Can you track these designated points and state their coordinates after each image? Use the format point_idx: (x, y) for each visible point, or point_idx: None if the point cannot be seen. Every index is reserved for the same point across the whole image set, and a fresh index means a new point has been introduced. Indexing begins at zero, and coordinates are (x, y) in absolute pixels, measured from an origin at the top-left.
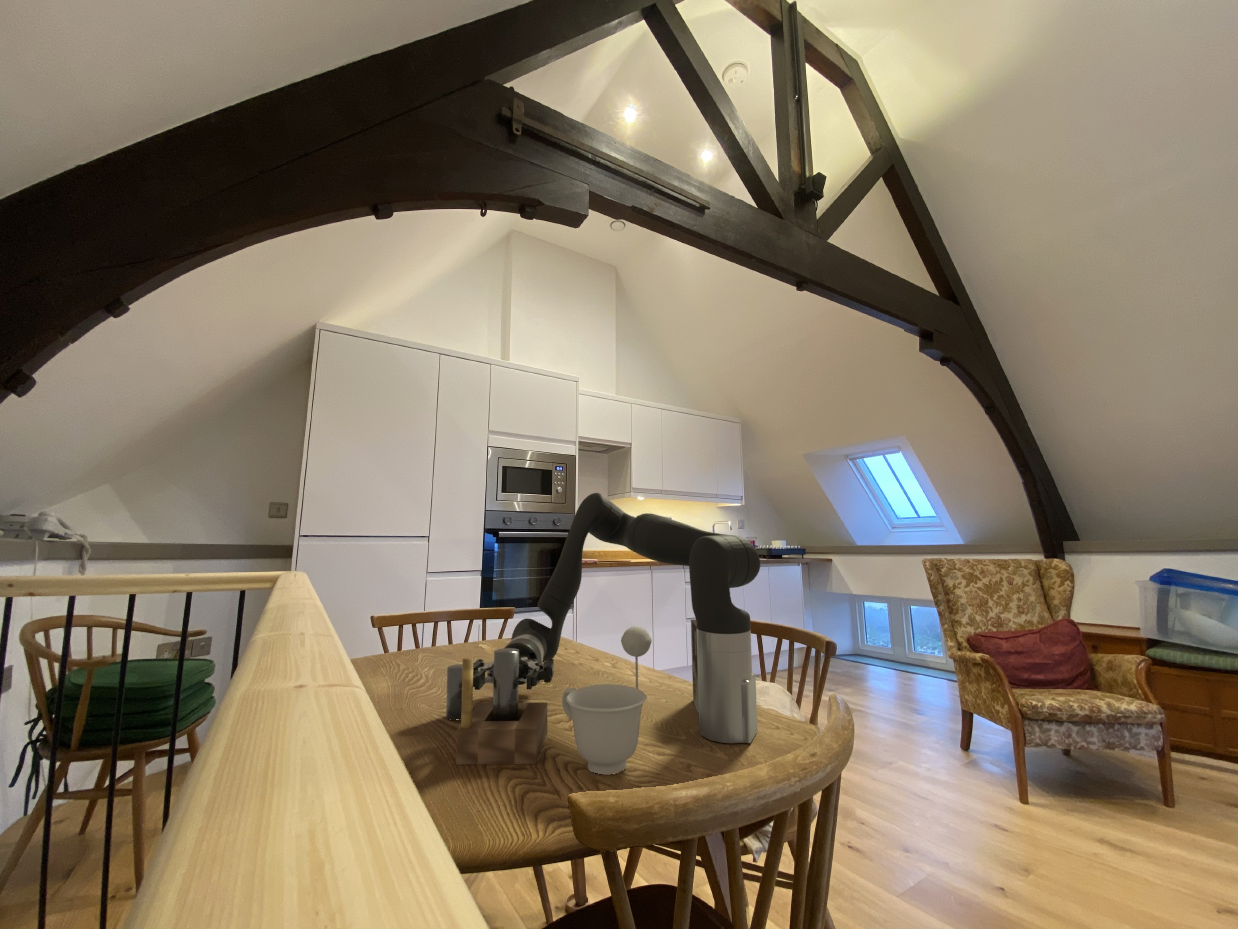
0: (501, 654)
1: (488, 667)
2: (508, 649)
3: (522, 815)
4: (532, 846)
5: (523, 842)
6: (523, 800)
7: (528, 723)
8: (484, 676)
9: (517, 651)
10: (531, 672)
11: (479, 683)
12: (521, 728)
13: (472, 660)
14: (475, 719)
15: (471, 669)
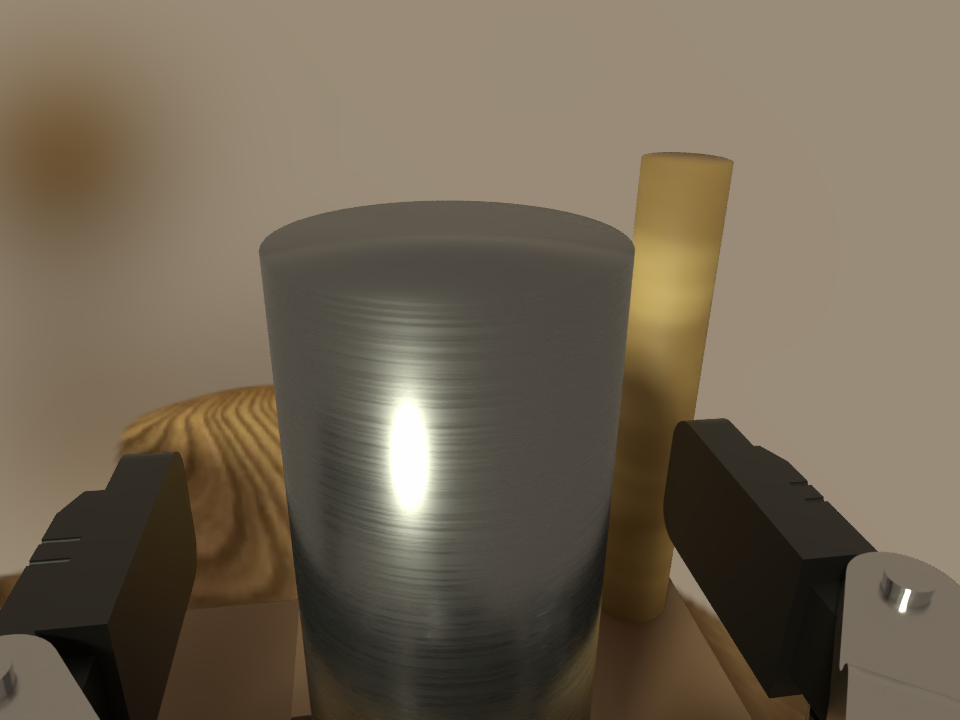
0: (462, 207)
1: (842, 625)
2: (457, 269)
3: (233, 466)
4: (201, 399)
5: (223, 405)
6: (235, 516)
7: (208, 679)
8: (773, 602)
9: (279, 237)
10: (108, 519)
11: (673, 481)
12: (255, 606)
13: (640, 167)
14: (658, 709)
15: (634, 235)
